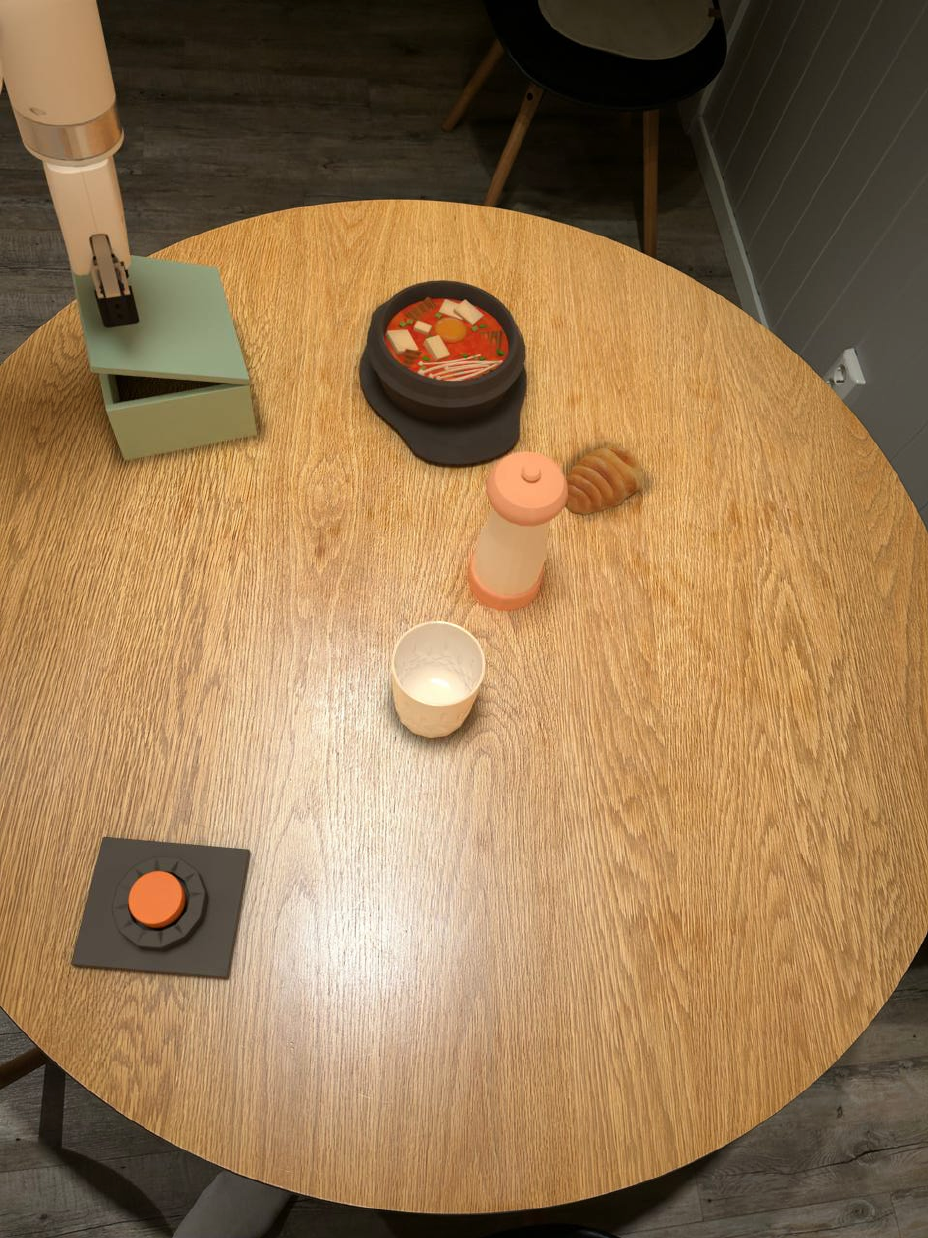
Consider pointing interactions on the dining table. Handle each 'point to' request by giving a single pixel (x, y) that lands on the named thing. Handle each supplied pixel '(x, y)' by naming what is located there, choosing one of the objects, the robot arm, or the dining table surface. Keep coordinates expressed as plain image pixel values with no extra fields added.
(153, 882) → the button
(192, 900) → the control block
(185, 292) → the lid
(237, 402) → the green bottomless box
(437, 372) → the casserole
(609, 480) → the pastry
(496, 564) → the salt shaker
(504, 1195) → the dining table surface
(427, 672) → the white cup
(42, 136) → the robot arm
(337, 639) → the dining table surface
